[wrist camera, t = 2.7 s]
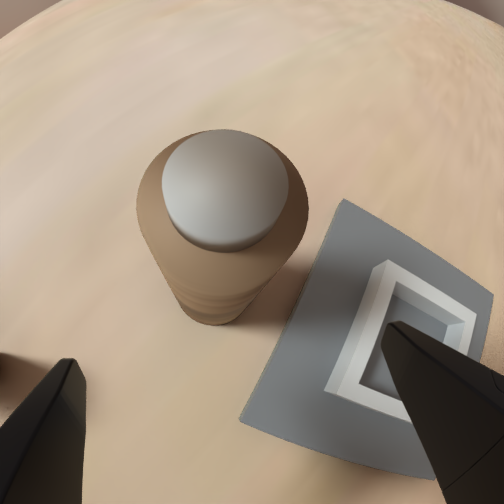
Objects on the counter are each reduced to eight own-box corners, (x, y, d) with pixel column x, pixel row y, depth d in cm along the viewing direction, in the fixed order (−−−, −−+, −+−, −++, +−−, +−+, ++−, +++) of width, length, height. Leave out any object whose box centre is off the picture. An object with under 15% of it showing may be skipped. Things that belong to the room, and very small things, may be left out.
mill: (229, 338, 19) (271, 313, 7) (162, 302, 19) (91, 214, 7) (262, 273, 20) (343, 155, 8) (198, 239, 21) (194, 87, 8)
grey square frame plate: (426, 477, 17) (450, 486, 14) (238, 418, 17) (244, 429, 15) (486, 296, 22) (509, 289, 20) (338, 204, 23) (355, 184, 20)
